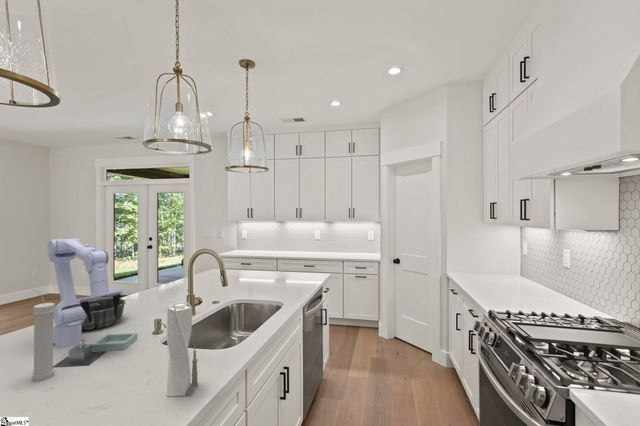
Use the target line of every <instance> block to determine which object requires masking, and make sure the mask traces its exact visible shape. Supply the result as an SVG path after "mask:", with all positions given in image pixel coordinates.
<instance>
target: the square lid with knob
mask: <svg viewBox="0 0 640 426" xmlns="http://www.w3.org/2000/svg"><path fill="white" fill-rule="evenodd" d="M107 352H108V351H92V356H91V357H90V358H88V359H87V360H86V361H84V362H69V355H67V356H66V357H65V358H63V359H61V360H60V361H59V362H57V363H56V364H53V369H56V368H71V367H72V368H73V367H75V368H76V367H87V366H88V367H89V366H91V365H92V364H93V363H94V362H95V361H97V360H98V359H99V358H101V357H103V356H104V355H105V354H106V353H107Z"/></svg>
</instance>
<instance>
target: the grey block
mask: <svg viewBox="0 0 640 426" xmlns="http://www.w3.org/2000/svg"><path fill="white" fill-rule="evenodd" d="M85 341H86V340H81V341H78V342H77V345H74V346H72V348H70V349H69V350H68V356H69V362H84V361H86V360H87V359H88V358H90V357H91V356H92V352H93V351H92V344H93V343H86V344H85Z"/></svg>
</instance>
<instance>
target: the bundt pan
mask: <svg viewBox="0 0 640 426" xmlns="http://www.w3.org/2000/svg"><path fill="white" fill-rule="evenodd" d="M99 298H100V297H97V299H99ZM92 300H94V299H92ZM125 304H126V299H123V298H121V297H120V300H119V303H118V307H117V316H114V303H113V297H110V298H105V299H100V300H96V301H91V302H90V312H91V317H92V322H90V323H89V319H88V317H86V318H85V319H84V322H82V331H91V330H93V329H96V330H99V329H100V328H106V327H108V326H110V325H111V326H112V325H114V324H116V323H117V322H119V320H121V318H122V316H123V313H124V308H125ZM69 308H71V307H69ZM64 309H66V308H64Z"/></svg>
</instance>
